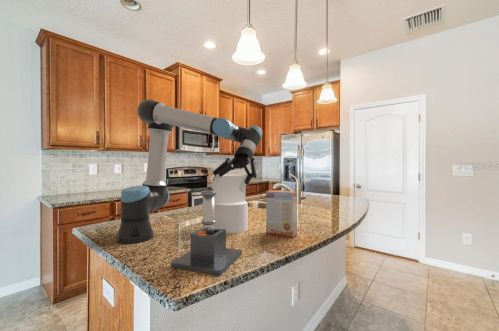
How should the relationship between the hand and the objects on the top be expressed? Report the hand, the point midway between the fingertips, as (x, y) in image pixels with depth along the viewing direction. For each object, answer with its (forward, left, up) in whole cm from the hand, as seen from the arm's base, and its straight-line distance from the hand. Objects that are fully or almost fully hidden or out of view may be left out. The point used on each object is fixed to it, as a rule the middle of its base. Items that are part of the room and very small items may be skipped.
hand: (226, 189), depth 90 cm
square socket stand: (-2, -10, -24) cm, 26 cm away
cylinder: (-11, +30, -24) cm, 40 cm away
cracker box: (+16, +29, -24) cm, 41 cm away
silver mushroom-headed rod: (-2, -10, -22) cm, 24 cm away
